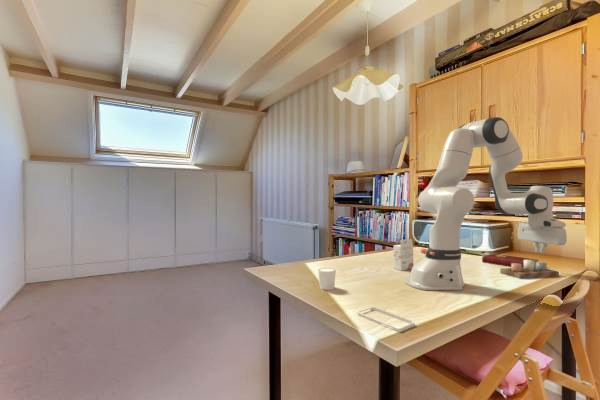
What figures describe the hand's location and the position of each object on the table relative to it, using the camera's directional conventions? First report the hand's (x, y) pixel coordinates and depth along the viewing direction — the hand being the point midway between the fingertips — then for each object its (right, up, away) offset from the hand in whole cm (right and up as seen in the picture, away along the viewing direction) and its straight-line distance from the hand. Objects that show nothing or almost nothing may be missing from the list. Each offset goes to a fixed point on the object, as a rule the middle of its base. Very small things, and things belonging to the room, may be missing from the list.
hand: (540, 252), depth 136 cm
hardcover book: (0, -10, +20) cm, 22 cm away
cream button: (-6, -8, -1) cm, 10 cm away
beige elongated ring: (-84, -11, -50) cm, 98 cm away
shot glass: (-98, -11, -18) cm, 100 cm away
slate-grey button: (+1, -9, 0) cm, 9 cm away
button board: (-6, -10, -1) cm, 11 cm away
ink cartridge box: (-57, -10, +12) cm, 60 cm away
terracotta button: (-12, -9, -2) cm, 15 cm away
